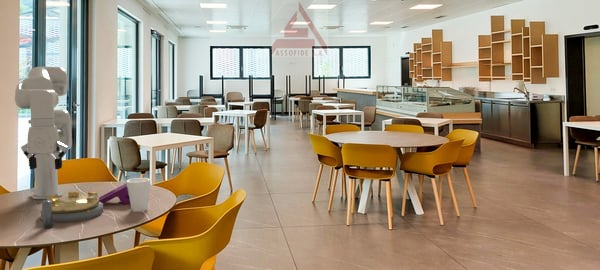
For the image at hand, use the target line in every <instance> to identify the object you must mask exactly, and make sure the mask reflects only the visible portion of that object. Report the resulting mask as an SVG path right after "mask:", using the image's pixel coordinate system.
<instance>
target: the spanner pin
mask: <svg viewBox="0 0 600 270" xmlns="http://www.w3.org/2000/svg"><path fill="white" fill-rule="evenodd" d="M45 200H46V201H45ZM45 200H42V201H41V210H42V214H43V220H42V225H43V229H46V230H47V229H52V228H54V223H53V216H52V201H51V200H47V199H45Z"/></svg>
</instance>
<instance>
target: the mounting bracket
mask: <svg viewBox="0 0 600 270" xmlns="http://www.w3.org/2000/svg"><path fill="white" fill-rule="evenodd" d="M98 198H99V202H101V203H103V204H105V203H107V202H109V201H111V200H113V199H115V198H118V200H119V201H120V203H122V205H125V206H126V205H127V206H128V204H130V198H129V193H128V187H127V182H126V183H124V184H122V185H120V186H118V187H116V188H114V189H113V190H111V191H109V192H107V193H105V194H103V195H101V196H100V197H99V196H98ZM130 205H131V204H130Z"/></svg>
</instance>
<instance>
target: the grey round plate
mask: <svg viewBox="0 0 600 270" xmlns="http://www.w3.org/2000/svg"><path fill="white" fill-rule="evenodd" d="M103 213H104V203H101V202H99V205H98V206H97V207H95V208H93V209H90V210H86V211H81V212H75V213H61V214H58V213H52V216H53V224H54V223H55V224H60V223H61V224H62V223H63V224H64V223H66V224H67V223H75V222H81V221H86V220H91V219H93V218H97V217H98V216H101V215H102V214H103ZM96 216H97V217H96ZM40 219H41V221H43V214H42V209H41V210H40Z"/></svg>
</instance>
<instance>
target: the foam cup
mask: <svg viewBox="0 0 600 270" xmlns="http://www.w3.org/2000/svg"><path fill="white" fill-rule="evenodd" d="M126 183H127V187H128V193H129V198H130V207H131V211H132V212H134V213H137V212H139V213H140V212H145V211H147V210H148V205H149V199H150V195H149V194H150V188H151V179H150V178H147V177H138V178H130V179H127V180H126Z"/></svg>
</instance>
